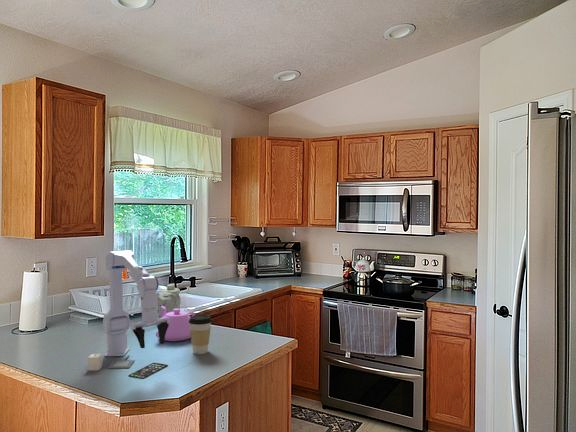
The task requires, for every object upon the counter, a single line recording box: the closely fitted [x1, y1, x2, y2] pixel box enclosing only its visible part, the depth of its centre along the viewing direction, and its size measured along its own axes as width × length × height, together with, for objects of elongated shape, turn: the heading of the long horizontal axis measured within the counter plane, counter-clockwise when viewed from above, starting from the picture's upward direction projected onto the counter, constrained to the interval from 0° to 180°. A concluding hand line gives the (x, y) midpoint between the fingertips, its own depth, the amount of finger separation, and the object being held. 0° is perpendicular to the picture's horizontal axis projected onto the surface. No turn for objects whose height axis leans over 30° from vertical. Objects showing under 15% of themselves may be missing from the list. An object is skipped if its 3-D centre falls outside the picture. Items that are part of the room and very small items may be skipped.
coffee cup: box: [189, 314, 213, 355], centre depth 190 cm, size 10×10×15 cm
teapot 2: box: [155, 306, 196, 343], centre depth 212 cm, size 22×22×14 cm
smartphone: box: [127, 362, 169, 380], centre depth 168 cm, size 7×1×15 cm
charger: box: [87, 353, 103, 371], centre depth 170 cm, size 4×4×5 cm
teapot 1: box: [156, 283, 182, 319], centre depth 249 cm, size 16×15×19 cm
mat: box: [107, 359, 135, 370], centre depth 174 cm, size 8×8×1 cm
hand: (152, 345), depth 165 cm, fingers open, 7 cm apart
